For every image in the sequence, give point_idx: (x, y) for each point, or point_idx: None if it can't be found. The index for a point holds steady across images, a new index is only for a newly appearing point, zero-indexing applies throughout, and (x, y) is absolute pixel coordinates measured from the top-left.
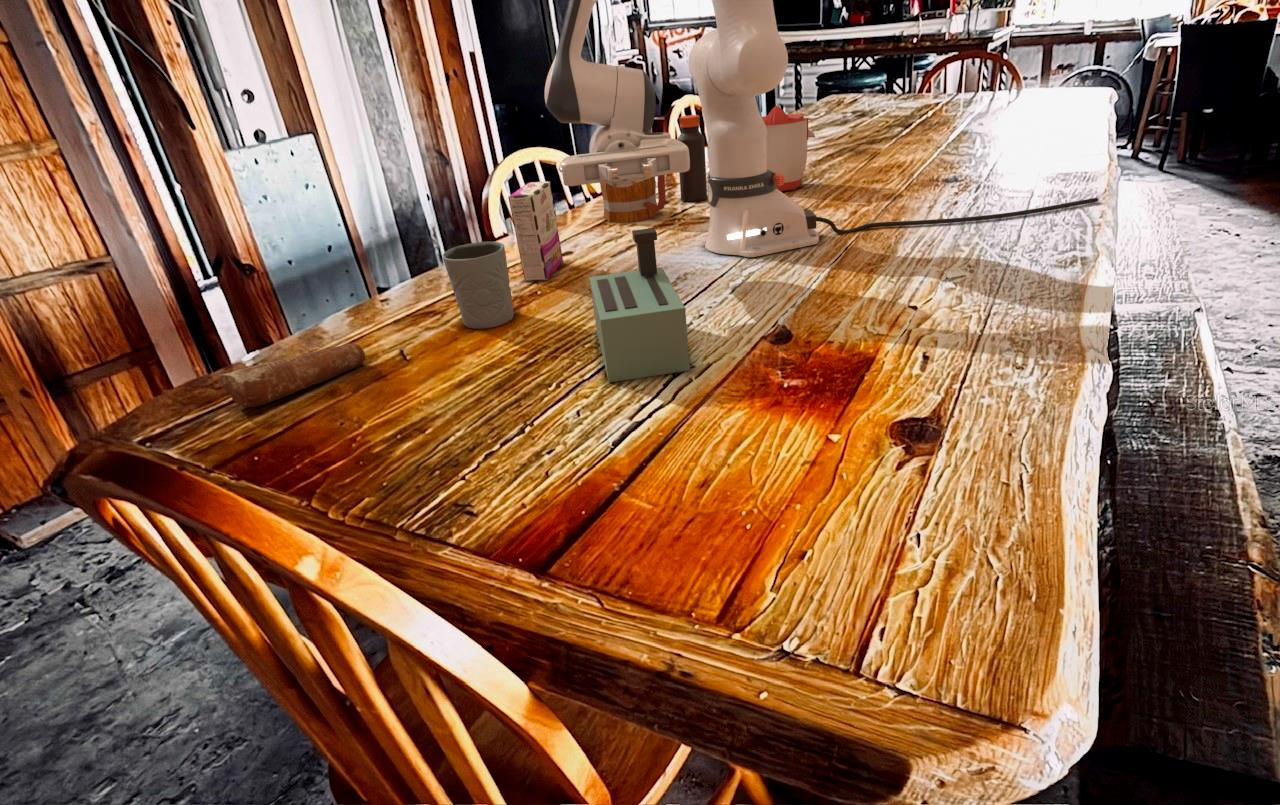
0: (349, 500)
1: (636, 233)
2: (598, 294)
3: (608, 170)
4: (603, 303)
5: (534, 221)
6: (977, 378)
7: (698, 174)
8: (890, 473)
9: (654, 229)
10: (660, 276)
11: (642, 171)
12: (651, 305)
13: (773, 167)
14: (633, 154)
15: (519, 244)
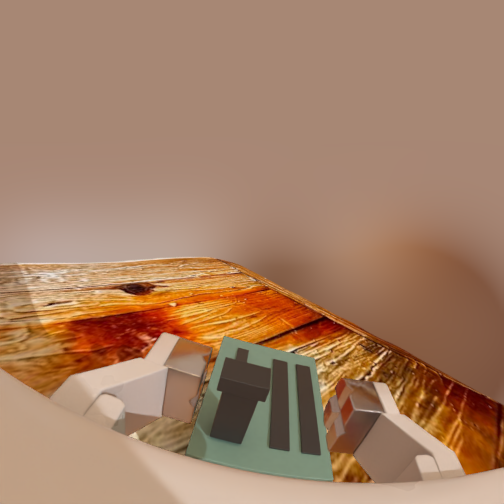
0: (422, 369)
1: (265, 371)
2: (317, 410)
3: (381, 383)
4: (311, 381)
5: None
6: (62, 285)
7: None
8: (173, 286)
9: (224, 367)
10: (209, 418)
11: (194, 408)
12: (256, 356)
13: None
14: (213, 474)
15: None
